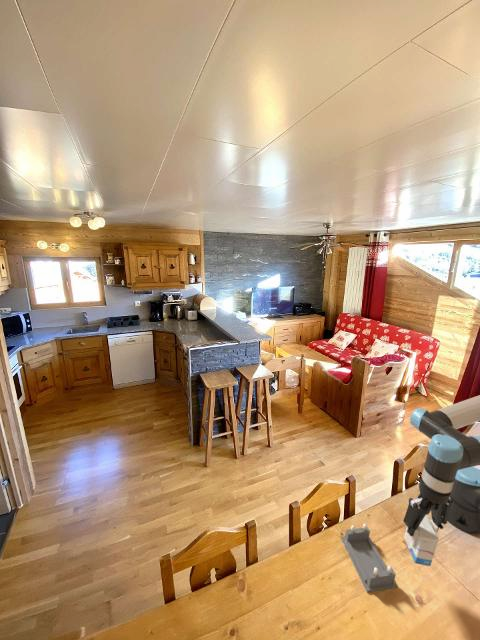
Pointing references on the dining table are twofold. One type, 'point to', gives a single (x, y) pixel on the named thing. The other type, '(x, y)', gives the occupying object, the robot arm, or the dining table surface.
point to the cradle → (368, 560)
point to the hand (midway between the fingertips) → (419, 539)
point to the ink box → (423, 543)
